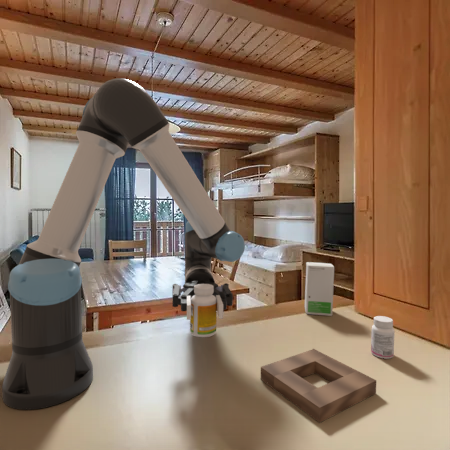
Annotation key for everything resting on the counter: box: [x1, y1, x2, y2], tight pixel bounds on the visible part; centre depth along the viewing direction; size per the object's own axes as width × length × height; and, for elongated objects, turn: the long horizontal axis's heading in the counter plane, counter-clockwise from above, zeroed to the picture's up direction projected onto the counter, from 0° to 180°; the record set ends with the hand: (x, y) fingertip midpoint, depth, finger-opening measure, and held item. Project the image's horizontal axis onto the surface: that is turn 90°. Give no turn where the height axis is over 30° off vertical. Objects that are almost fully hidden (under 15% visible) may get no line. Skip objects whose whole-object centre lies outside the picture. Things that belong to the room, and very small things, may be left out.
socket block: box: [260, 348, 377, 423], centre depth 62 cm, size 15×15×2 cm
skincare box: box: [304, 261, 335, 317], centre depth 103 cm, size 8×7×16 cm
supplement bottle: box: [189, 284, 218, 338], centre depth 66 cm, size 5×5×10 cm
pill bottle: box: [370, 315, 395, 360], centre depth 75 cm, size 5×5×8 cm
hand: (205, 312), depth 61 cm, fingers closed on supplement bottle, 5 cm apart
